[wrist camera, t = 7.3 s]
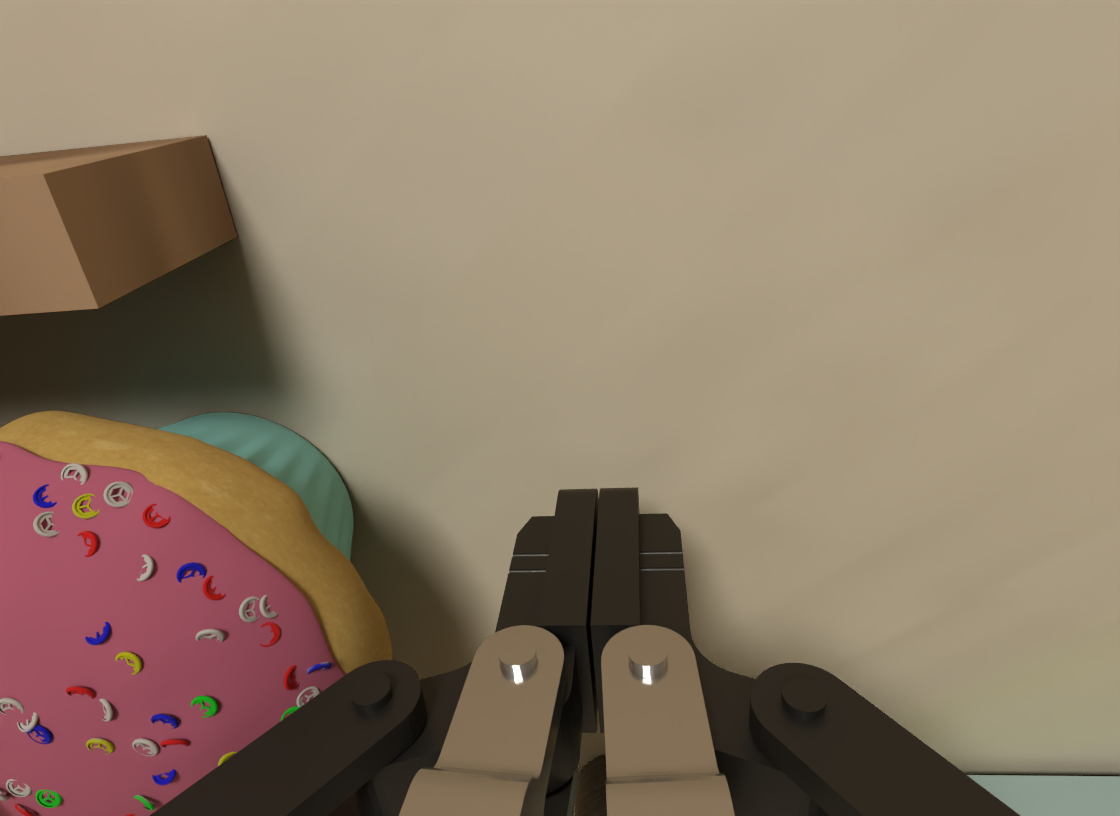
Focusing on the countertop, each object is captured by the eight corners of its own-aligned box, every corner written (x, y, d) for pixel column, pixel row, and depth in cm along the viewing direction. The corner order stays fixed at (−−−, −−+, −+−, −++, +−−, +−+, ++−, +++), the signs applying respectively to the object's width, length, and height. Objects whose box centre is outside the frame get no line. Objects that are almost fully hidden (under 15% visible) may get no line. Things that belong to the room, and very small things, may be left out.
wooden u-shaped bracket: (189, 79, 12) (-59, 104, 8) (396, 755, 20) (332, 958, 16) (-275, 132, 13) (-725, 179, 9) (94, 753, 21) (-46, 942, 17)
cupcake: (160, 643, 19) (-442, 1430, 8) (-5, 347, 15) (-1521, 1096, 4) (475, 623, 18) (245, 1522, 7) (381, 294, 14) (-442, 1165, 3)
